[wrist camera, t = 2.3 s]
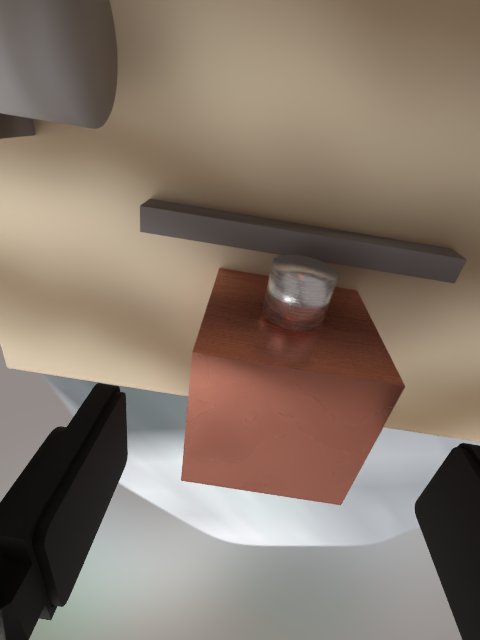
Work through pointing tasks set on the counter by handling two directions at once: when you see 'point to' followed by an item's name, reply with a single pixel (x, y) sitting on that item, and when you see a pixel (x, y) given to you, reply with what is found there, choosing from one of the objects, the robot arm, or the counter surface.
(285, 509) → the counter surface
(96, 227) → the jig
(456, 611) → the robot arm
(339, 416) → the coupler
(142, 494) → the counter surface
